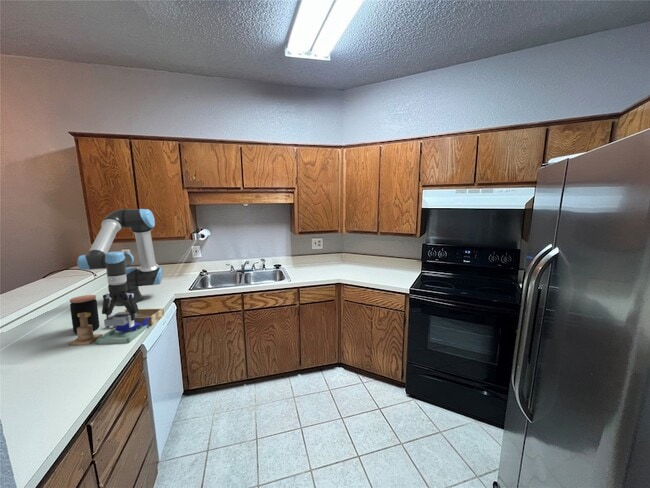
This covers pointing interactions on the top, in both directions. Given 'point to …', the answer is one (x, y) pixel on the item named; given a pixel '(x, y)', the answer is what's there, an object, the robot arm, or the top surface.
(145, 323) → the fish toy
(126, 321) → the gray rectangular frame
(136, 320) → the crate
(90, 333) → the handle
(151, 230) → the robot arm
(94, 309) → the coffee jar
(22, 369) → the top surface
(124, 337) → the tray
